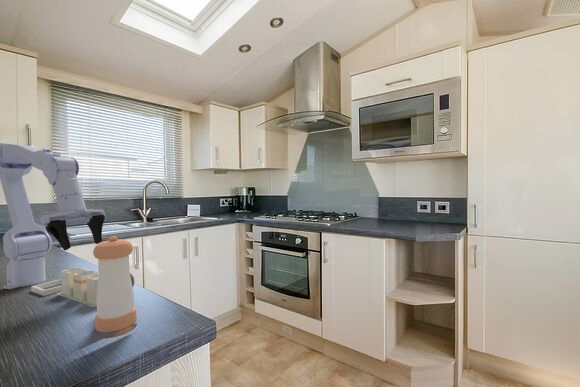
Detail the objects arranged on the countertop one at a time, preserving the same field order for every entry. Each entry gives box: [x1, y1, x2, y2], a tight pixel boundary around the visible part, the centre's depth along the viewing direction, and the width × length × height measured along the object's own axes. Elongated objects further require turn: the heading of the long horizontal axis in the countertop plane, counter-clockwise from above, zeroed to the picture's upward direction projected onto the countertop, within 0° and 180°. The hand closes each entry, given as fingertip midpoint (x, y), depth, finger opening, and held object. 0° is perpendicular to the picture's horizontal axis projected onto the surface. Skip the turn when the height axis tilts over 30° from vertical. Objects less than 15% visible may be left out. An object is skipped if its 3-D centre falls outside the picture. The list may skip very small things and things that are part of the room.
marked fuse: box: [73, 269, 99, 300], centre depth 75 cm, size 4×4×6 cm
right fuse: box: [86, 274, 99, 305], centre depth 72 cm, size 4×4×6 cm
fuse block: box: [55, 287, 97, 308], centre depth 75 cm, size 19×6×3 cm, turn 60°
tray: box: [30, 278, 62, 297], centre depth 81 cm, size 8×8×3 cm
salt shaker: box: [92, 235, 138, 339], centre depth 60 cm, size 7×7×19 cm
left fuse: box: [60, 266, 86, 296], centre depth 79 cm, size 4×4×6 cm
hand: (83, 245), depth 76 cm, fingers open, 7 cm apart
